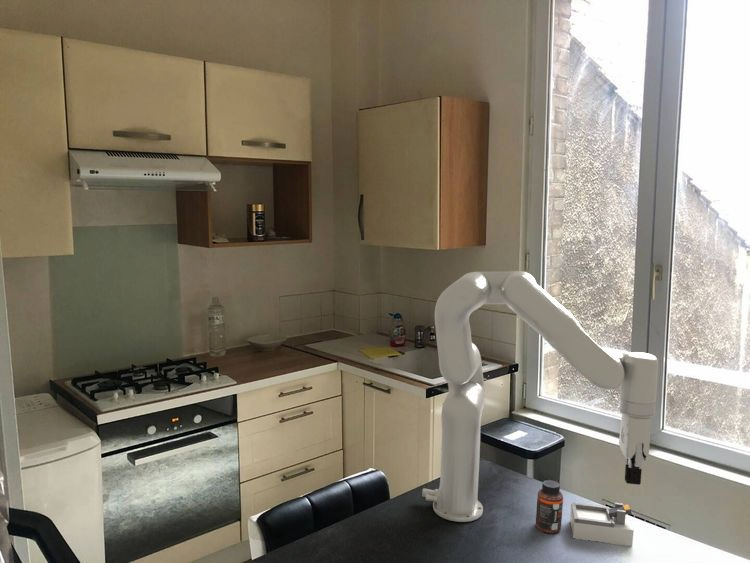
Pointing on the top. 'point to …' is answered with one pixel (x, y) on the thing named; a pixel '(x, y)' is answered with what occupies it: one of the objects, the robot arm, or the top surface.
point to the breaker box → (600, 524)
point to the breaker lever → (614, 510)
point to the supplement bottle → (549, 507)
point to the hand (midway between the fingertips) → (632, 482)
